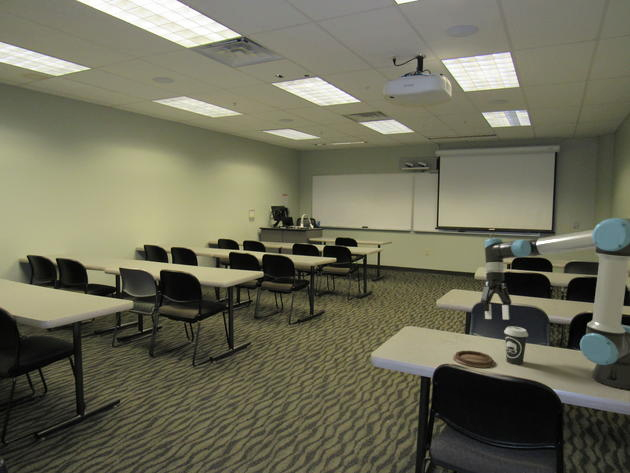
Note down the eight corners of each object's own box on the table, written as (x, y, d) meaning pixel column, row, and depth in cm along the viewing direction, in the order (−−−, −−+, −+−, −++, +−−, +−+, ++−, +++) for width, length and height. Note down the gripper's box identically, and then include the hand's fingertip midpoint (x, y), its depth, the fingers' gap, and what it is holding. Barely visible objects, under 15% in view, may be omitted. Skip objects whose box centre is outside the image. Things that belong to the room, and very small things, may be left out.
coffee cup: (529, 367, 173) (531, 332, 172) (505, 365, 175) (507, 331, 174) (522, 359, 182) (524, 326, 181) (500, 357, 184) (501, 325, 183)
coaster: (501, 368, 171) (501, 363, 171) (462, 367, 171) (462, 363, 170) (484, 354, 188) (484, 350, 188) (447, 353, 187) (448, 349, 187)
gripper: (502, 274, 195) (505, 319, 191) (471, 270, 182) (473, 318, 178) (517, 273, 189) (520, 319, 185) (486, 269, 175) (488, 319, 171)
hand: (497, 319), depth 181 cm, fingers open, 13 cm apart
